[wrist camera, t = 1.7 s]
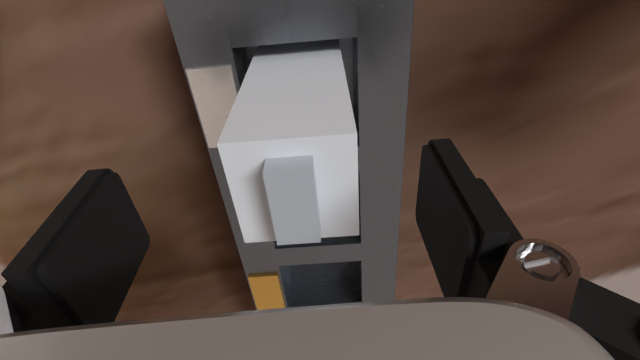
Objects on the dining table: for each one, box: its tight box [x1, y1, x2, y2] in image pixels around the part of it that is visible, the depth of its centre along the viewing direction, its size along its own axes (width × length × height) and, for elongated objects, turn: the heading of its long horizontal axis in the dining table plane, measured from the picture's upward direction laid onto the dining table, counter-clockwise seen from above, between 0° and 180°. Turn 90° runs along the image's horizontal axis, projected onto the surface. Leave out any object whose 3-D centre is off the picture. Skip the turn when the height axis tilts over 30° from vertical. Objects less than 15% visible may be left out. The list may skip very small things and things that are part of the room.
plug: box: [217, 39, 359, 245], centre depth 15 cm, size 4×4×11 cm
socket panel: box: [163, 0, 414, 310], centre depth 23 cm, size 10×24×4 cm, turn 5°
